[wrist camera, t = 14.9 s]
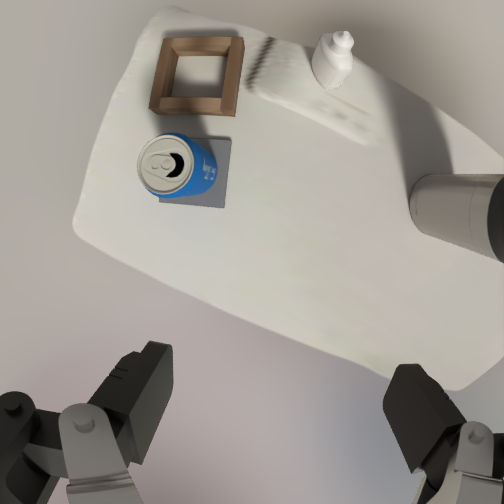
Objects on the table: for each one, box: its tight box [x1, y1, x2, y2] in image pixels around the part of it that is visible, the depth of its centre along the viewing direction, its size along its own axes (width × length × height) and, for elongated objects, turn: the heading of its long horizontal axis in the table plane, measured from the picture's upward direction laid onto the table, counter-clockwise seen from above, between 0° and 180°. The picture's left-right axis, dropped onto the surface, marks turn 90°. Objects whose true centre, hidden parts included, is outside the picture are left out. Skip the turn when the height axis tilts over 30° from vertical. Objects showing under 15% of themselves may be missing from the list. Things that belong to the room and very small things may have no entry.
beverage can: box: [137, 133, 218, 198], centre depth 30 cm, size 6×6×12 cm
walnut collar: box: [149, 37, 245, 117], centre depth 32 cm, size 11×11×4 cm
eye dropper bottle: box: [312, 31, 354, 90], centre depth 27 cm, size 4×6×12 cm
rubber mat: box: [159, 138, 232, 208], centre depth 37 cm, size 9×9×1 cm
